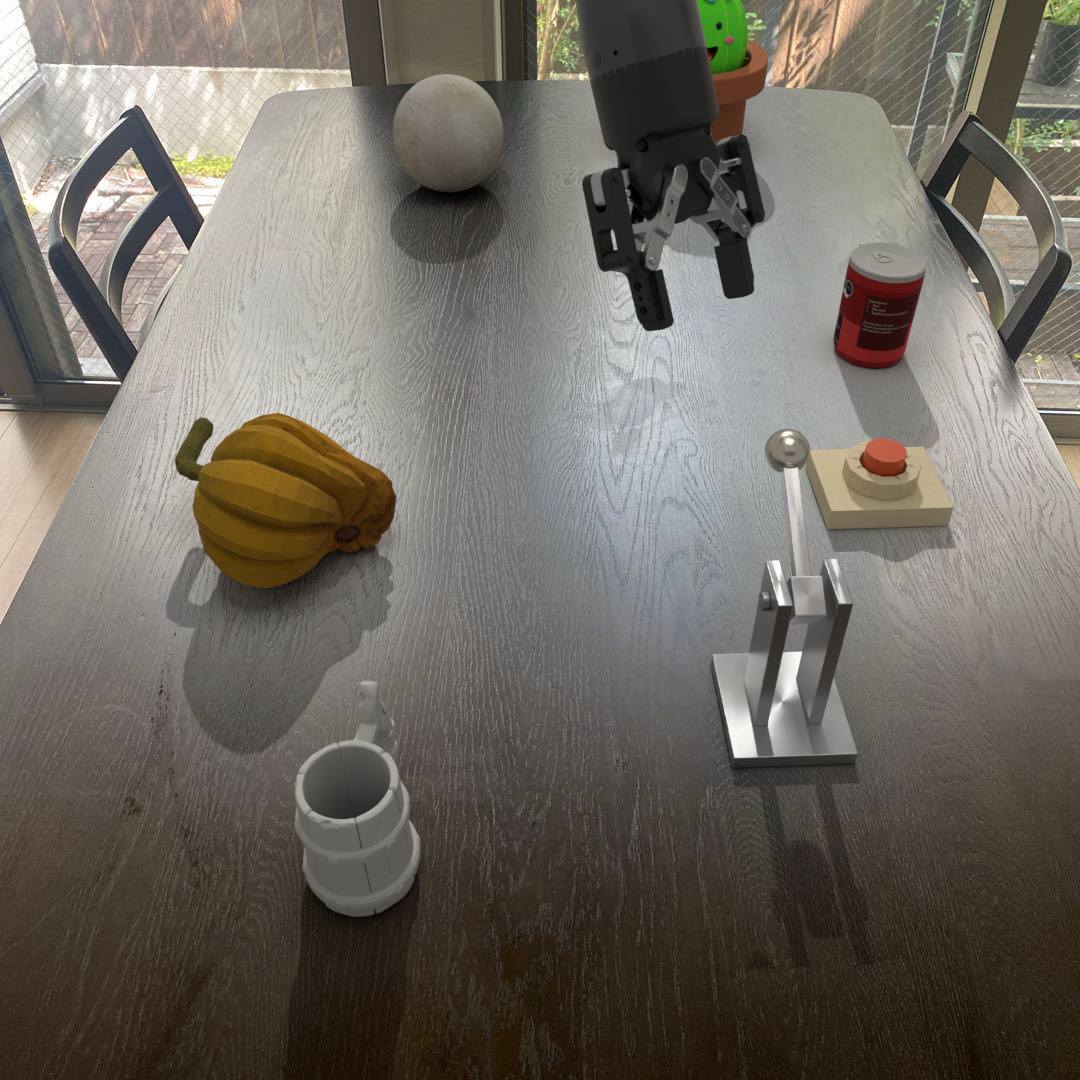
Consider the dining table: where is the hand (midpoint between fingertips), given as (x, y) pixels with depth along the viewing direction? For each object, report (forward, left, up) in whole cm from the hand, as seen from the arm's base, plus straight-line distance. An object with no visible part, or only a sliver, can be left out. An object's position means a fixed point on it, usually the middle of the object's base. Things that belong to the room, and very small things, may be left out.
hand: (701, 312), depth 73 cm
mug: (+23, +22, -27) cm, 42 cm away
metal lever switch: (-7, +12, -27) cm, 31 cm away
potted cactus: (-14, -95, -27) cm, 99 cm away
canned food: (-27, -38, -27) cm, 54 cm away
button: (-21, -13, -24) cm, 34 cm away
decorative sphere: (+20, -83, -27) cm, 89 cm away
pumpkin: (+33, -8, -27) cm, 44 cm away
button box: (-21, -13, -27) cm, 36 cm away
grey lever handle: (-7, +7, -14) cm, 17 cm away
